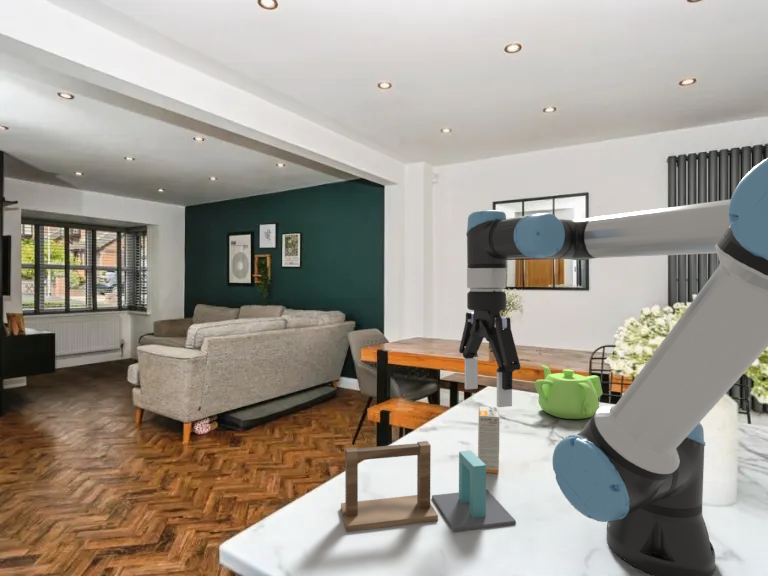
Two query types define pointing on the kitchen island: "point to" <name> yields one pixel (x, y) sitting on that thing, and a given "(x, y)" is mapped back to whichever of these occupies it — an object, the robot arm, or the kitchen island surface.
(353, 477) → the stand
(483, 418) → the supplement box
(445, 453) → the kitchen island surface
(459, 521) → the coaster
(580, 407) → the teapot
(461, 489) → the teal u-shaped block
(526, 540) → the kitchen island surface
